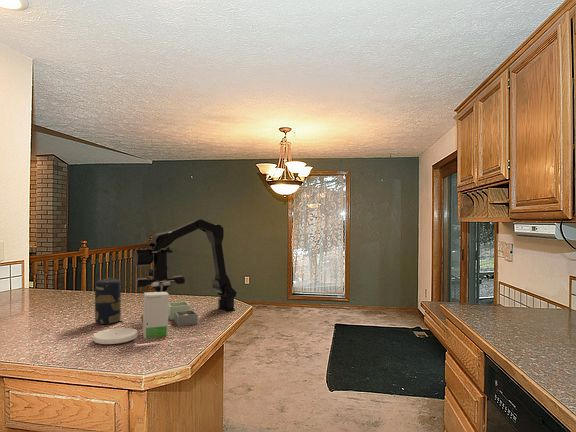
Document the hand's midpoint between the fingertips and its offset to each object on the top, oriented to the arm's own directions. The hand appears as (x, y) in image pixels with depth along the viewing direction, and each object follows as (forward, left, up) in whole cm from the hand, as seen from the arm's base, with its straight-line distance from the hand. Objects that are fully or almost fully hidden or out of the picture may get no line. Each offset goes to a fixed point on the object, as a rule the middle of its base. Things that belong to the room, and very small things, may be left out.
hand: (160, 301), depth 165 cm
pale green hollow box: (-7, 0, -8) cm, 10 cm away
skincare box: (+5, +23, -8) cm, 25 cm away
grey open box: (-8, +11, -8) cm, 16 cm away
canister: (+20, -5, -8) cm, 22 cm away
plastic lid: (+18, +21, -8) cm, 29 cm away
